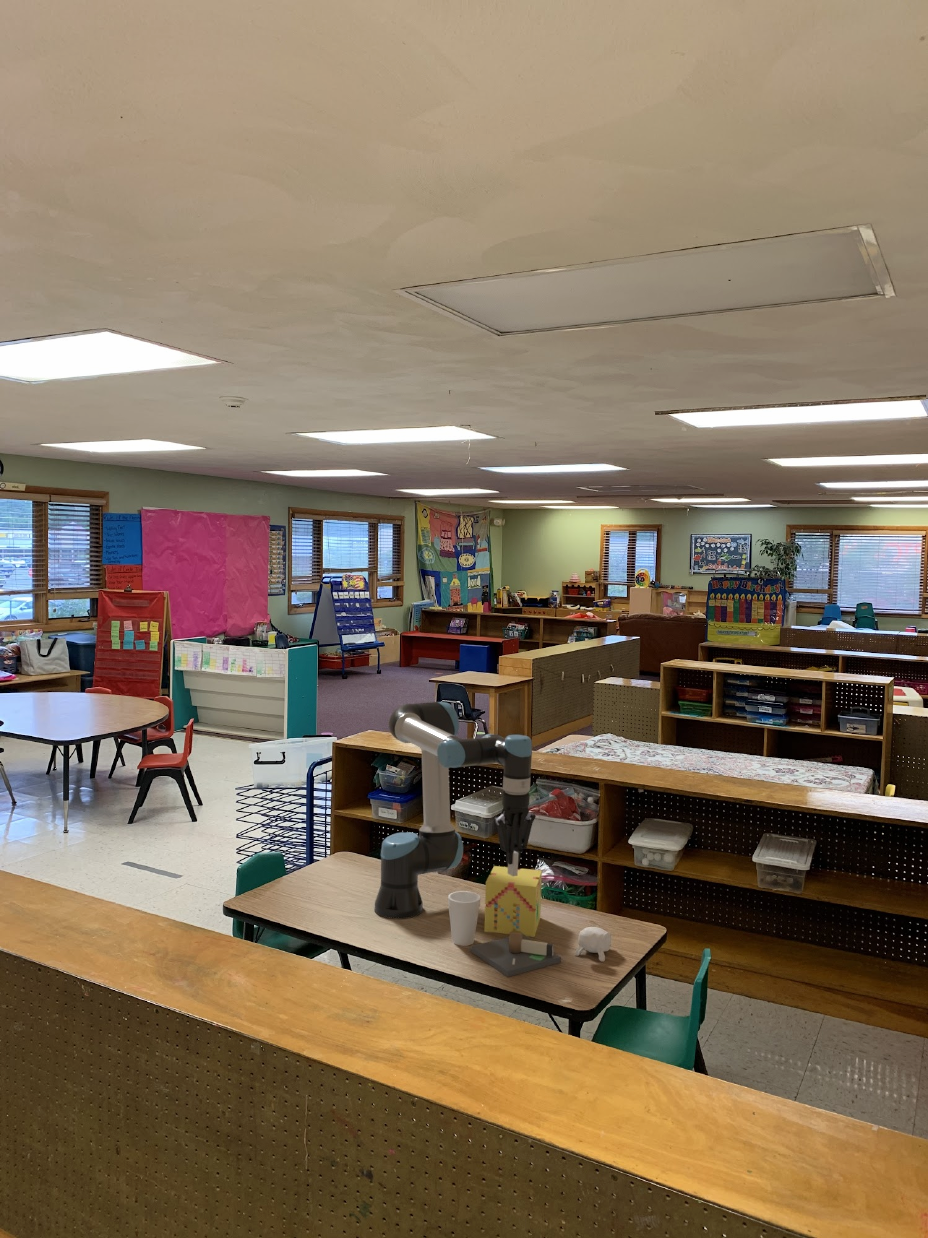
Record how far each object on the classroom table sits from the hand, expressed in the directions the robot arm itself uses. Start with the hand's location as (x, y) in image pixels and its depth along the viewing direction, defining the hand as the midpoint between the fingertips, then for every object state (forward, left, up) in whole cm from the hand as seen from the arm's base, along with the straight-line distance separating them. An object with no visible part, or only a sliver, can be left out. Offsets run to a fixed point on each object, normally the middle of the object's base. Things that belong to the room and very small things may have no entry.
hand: (512, 874), depth 240 cm
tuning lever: (+6, +3, -21) cm, 22 cm away
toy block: (-17, +13, -23) cm, 31 cm away
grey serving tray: (+2, 0, -22) cm, 23 cm away
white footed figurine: (+12, +20, -23) cm, 32 cm away
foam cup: (-14, -7, -23) cm, 27 cm away
